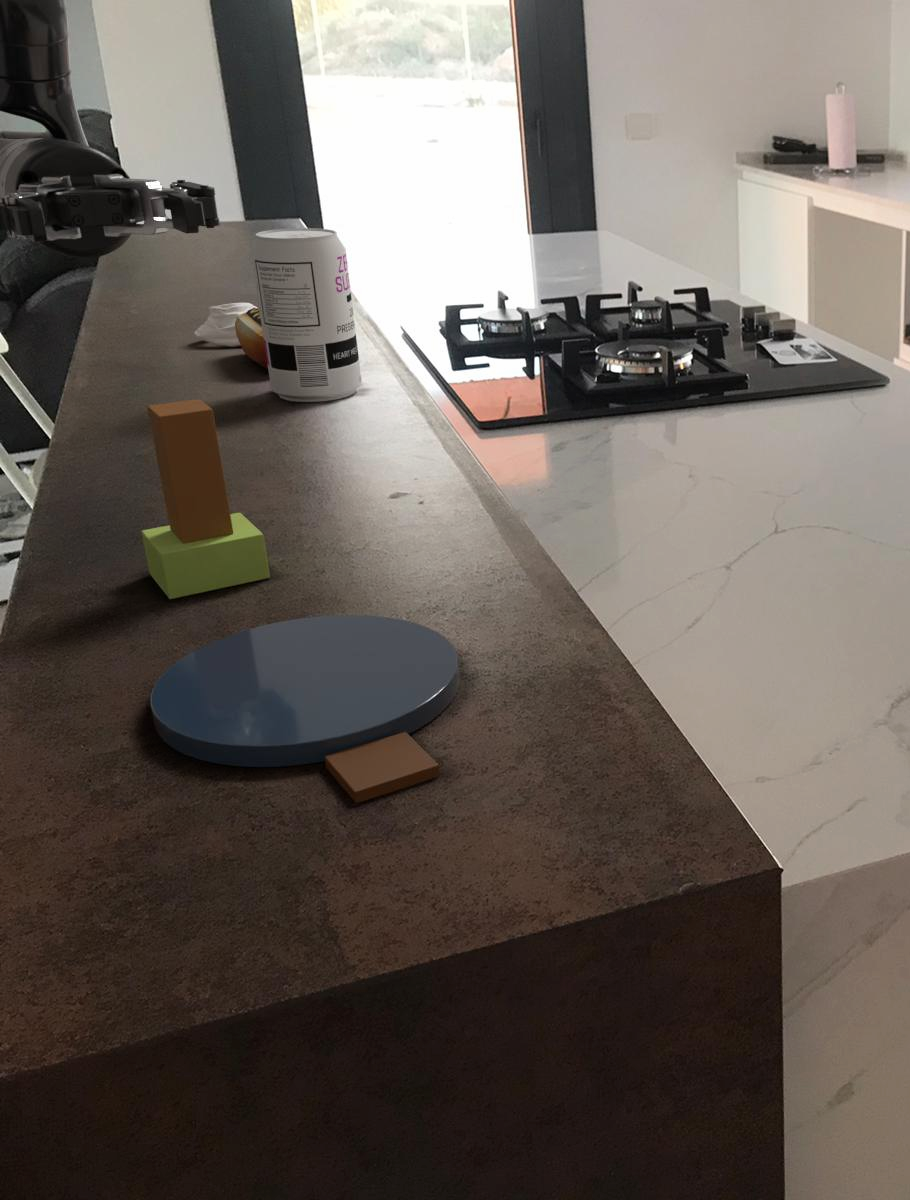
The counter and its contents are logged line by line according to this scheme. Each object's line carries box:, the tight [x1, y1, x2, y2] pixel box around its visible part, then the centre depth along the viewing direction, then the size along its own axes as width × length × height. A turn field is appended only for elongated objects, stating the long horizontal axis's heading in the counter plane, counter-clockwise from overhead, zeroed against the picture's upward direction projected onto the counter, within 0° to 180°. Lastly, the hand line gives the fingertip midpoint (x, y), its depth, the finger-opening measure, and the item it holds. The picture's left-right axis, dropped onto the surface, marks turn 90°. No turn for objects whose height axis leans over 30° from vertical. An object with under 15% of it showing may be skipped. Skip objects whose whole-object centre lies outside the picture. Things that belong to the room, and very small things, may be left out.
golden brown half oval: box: [235, 307, 268, 370], centre depth 134 cm, size 5×13×5 cm, turn 32°
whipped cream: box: [193, 302, 258, 348], centre depth 143 cm, size 8×7×5 cm
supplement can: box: [250, 227, 363, 403], centre depth 121 cm, size 8×8×15 cm
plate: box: [149, 614, 461, 768], centre depth 67 cm, size 15×15×1 cm
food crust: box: [324, 732, 441, 804], centre depth 60 cm, size 4×4×1 cm
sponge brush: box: [140, 398, 271, 600], centre depth 79 cm, size 6×5×11 cm
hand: (117, 219), depth 78 cm, fingers open, 8 cm apart
